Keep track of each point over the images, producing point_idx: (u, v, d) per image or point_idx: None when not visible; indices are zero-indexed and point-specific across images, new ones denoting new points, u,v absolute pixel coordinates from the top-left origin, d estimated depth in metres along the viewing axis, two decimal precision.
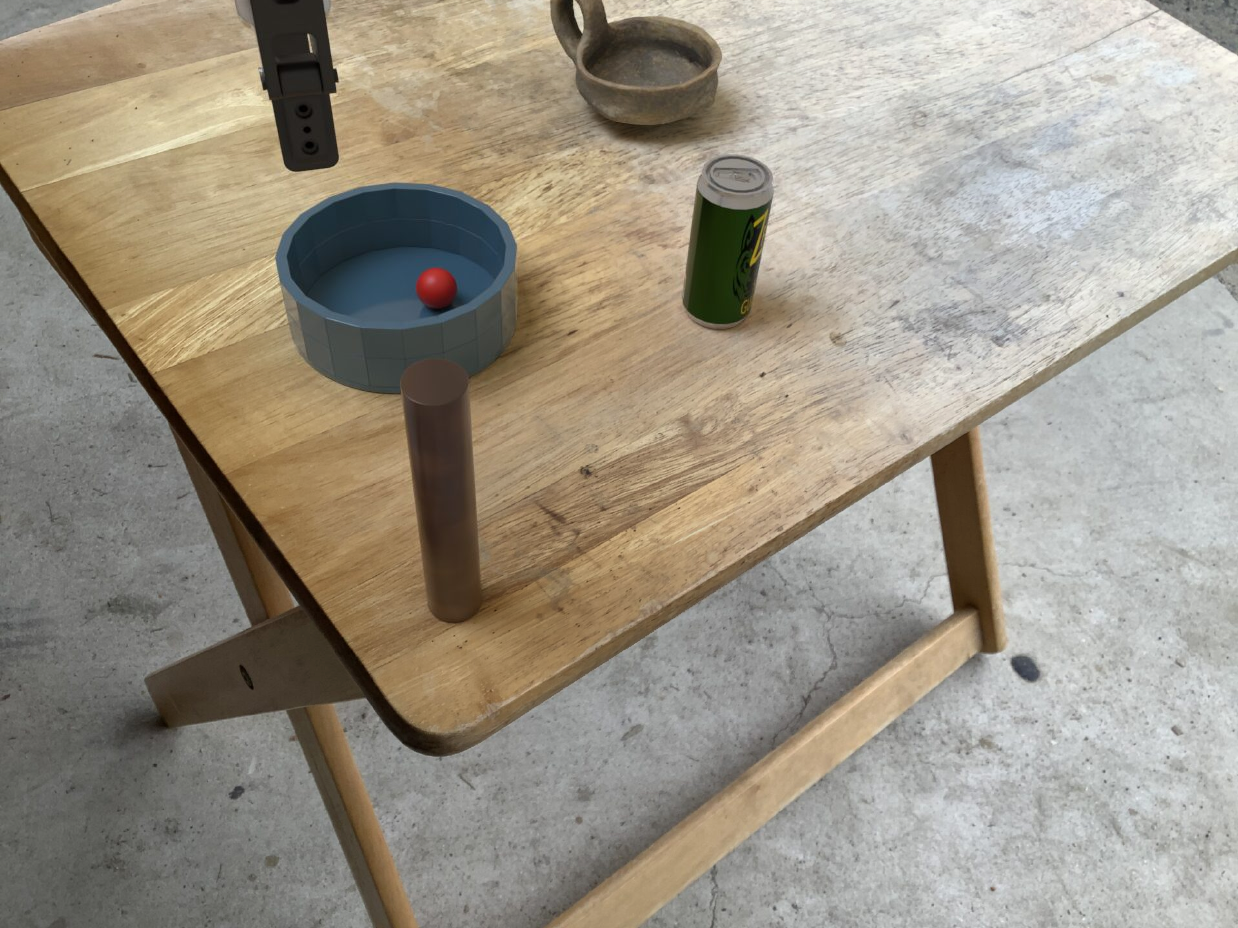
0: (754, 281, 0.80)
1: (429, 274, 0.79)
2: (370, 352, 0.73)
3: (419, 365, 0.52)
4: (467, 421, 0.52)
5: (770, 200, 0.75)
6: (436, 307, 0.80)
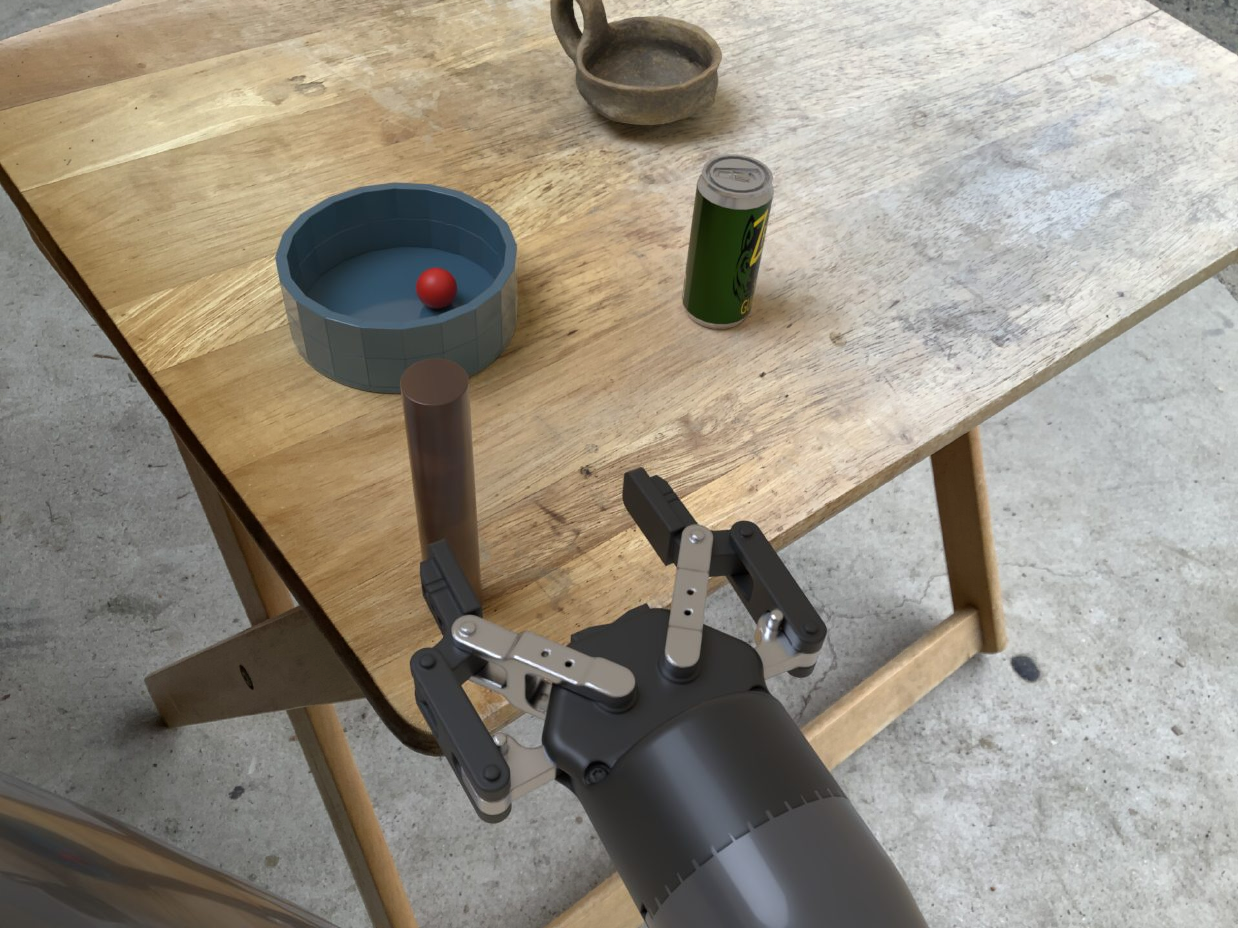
0: (754, 281, 0.80)
1: (429, 274, 0.79)
2: (370, 352, 0.73)
3: (419, 365, 0.52)
4: (467, 421, 0.52)
5: (770, 200, 0.75)
6: (436, 307, 0.80)
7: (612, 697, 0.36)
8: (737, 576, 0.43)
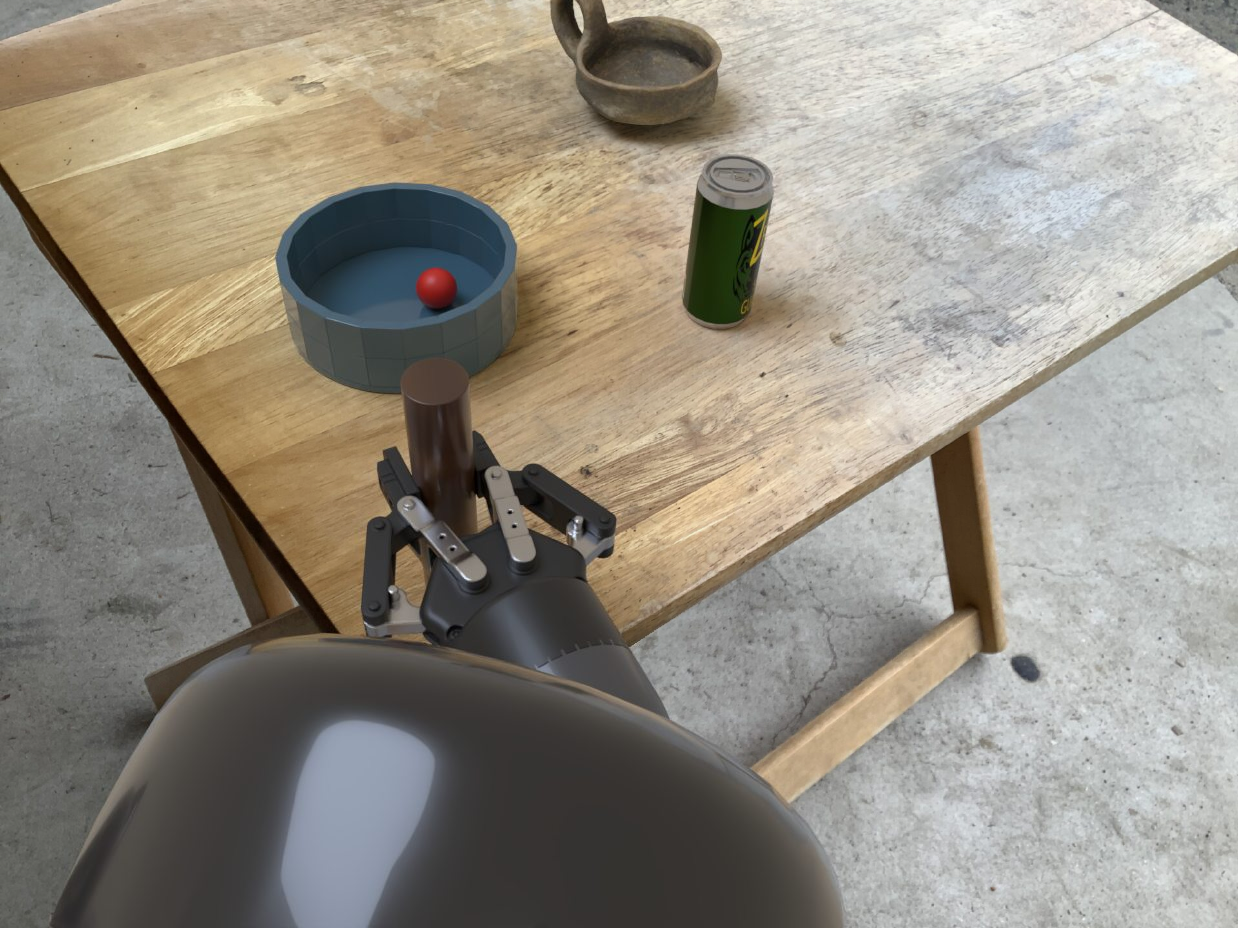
0: (754, 281, 0.80)
1: (429, 274, 0.79)
2: (370, 352, 0.73)
3: (420, 365, 0.52)
4: (467, 421, 0.53)
5: (770, 200, 0.75)
6: (436, 307, 0.80)
7: (464, 580, 0.51)
8: (536, 505, 0.57)
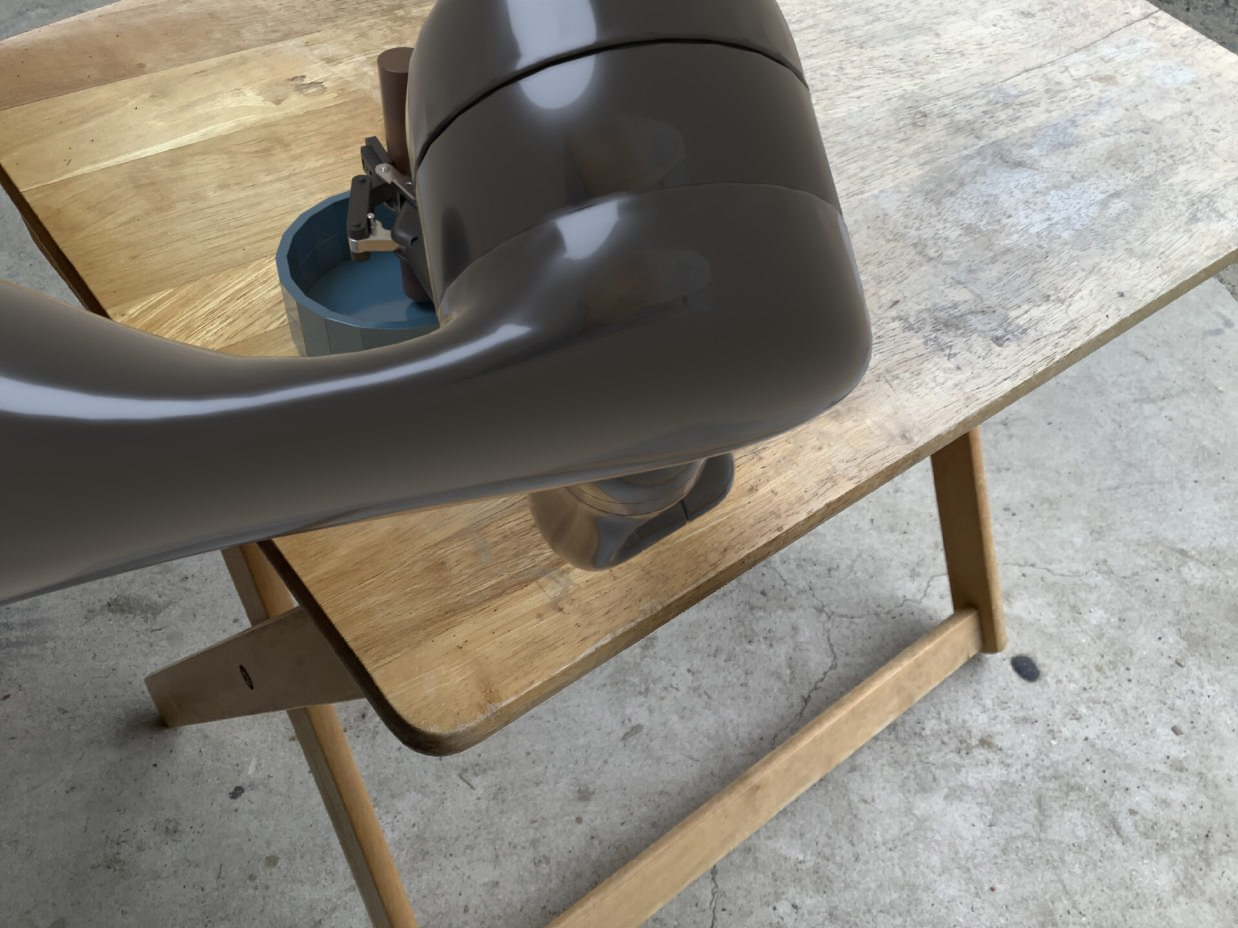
0: None
1: None
2: None
3: (392, 50, 0.68)
4: None
5: None
6: None
7: None
8: None
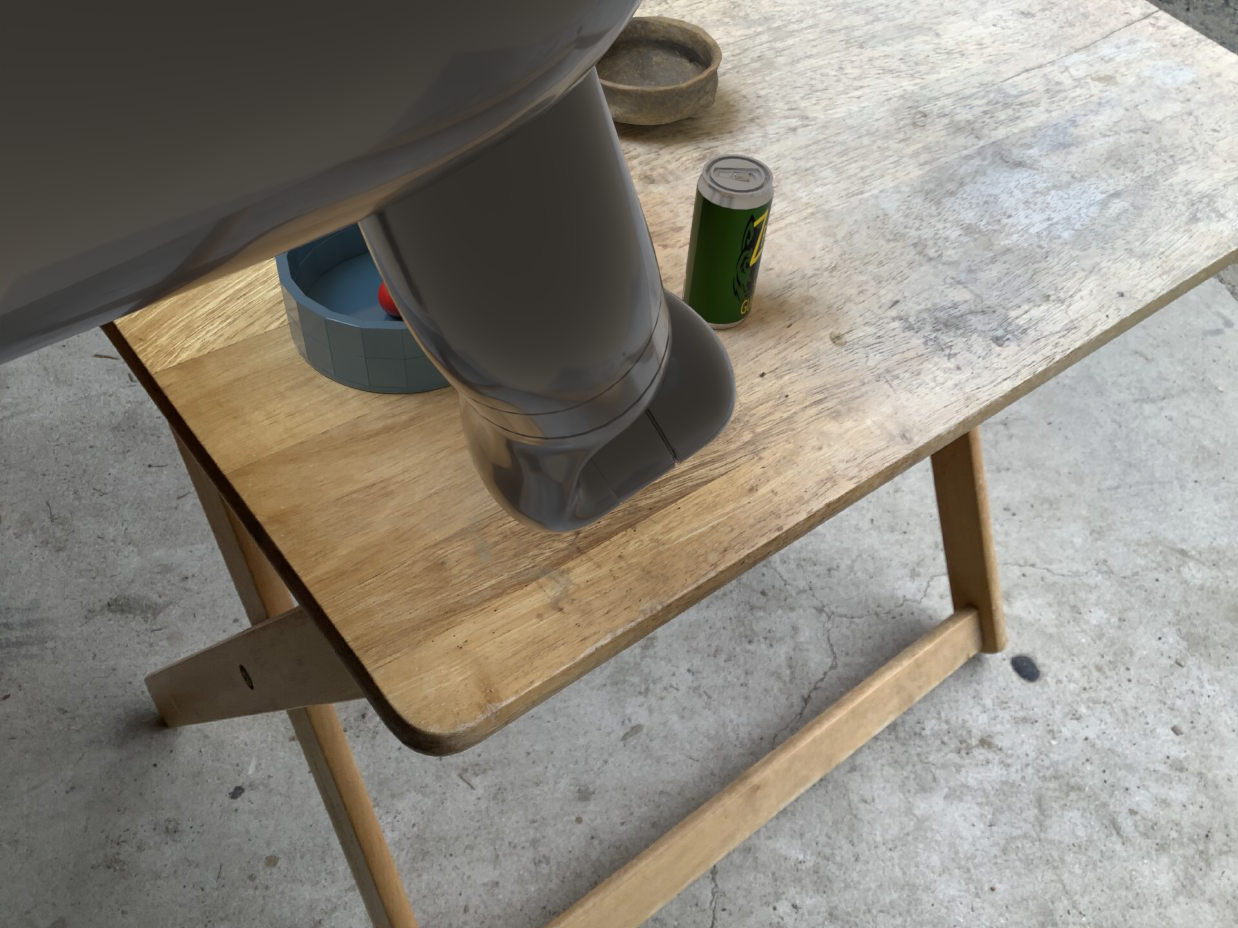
0: (754, 281, 0.80)
1: None
2: (370, 352, 0.73)
3: None
4: None
5: (770, 200, 0.75)
6: None
7: None
8: None
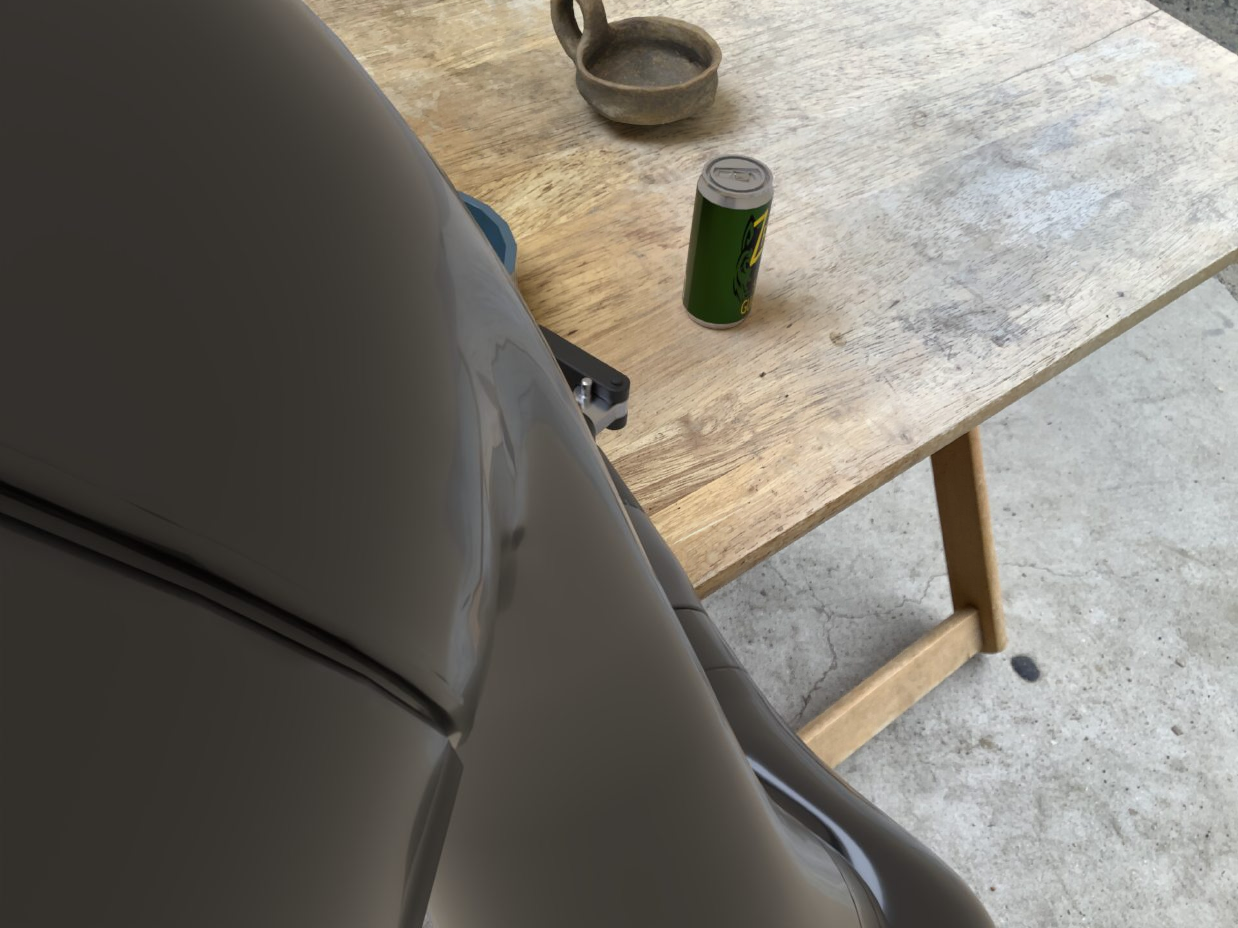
0: (754, 281, 0.80)
1: None
2: None
3: None
4: None
5: (770, 200, 0.75)
6: None
7: None
8: None
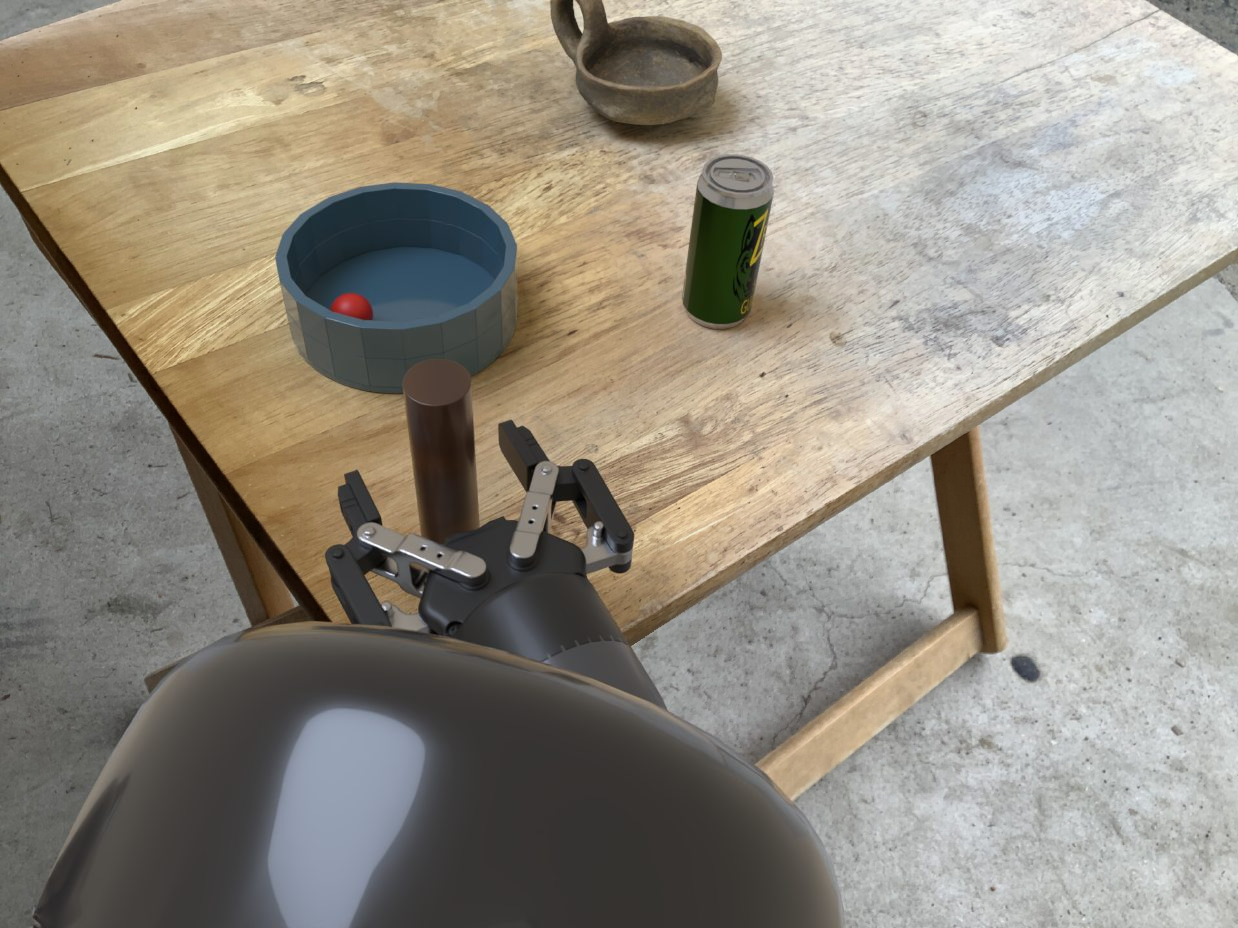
0: (754, 281, 0.80)
1: None
2: (370, 352, 0.73)
3: (422, 365, 0.52)
4: (469, 421, 0.52)
5: (770, 200, 0.75)
6: (352, 309, 0.76)
7: (469, 578, 0.50)
8: (579, 501, 0.57)
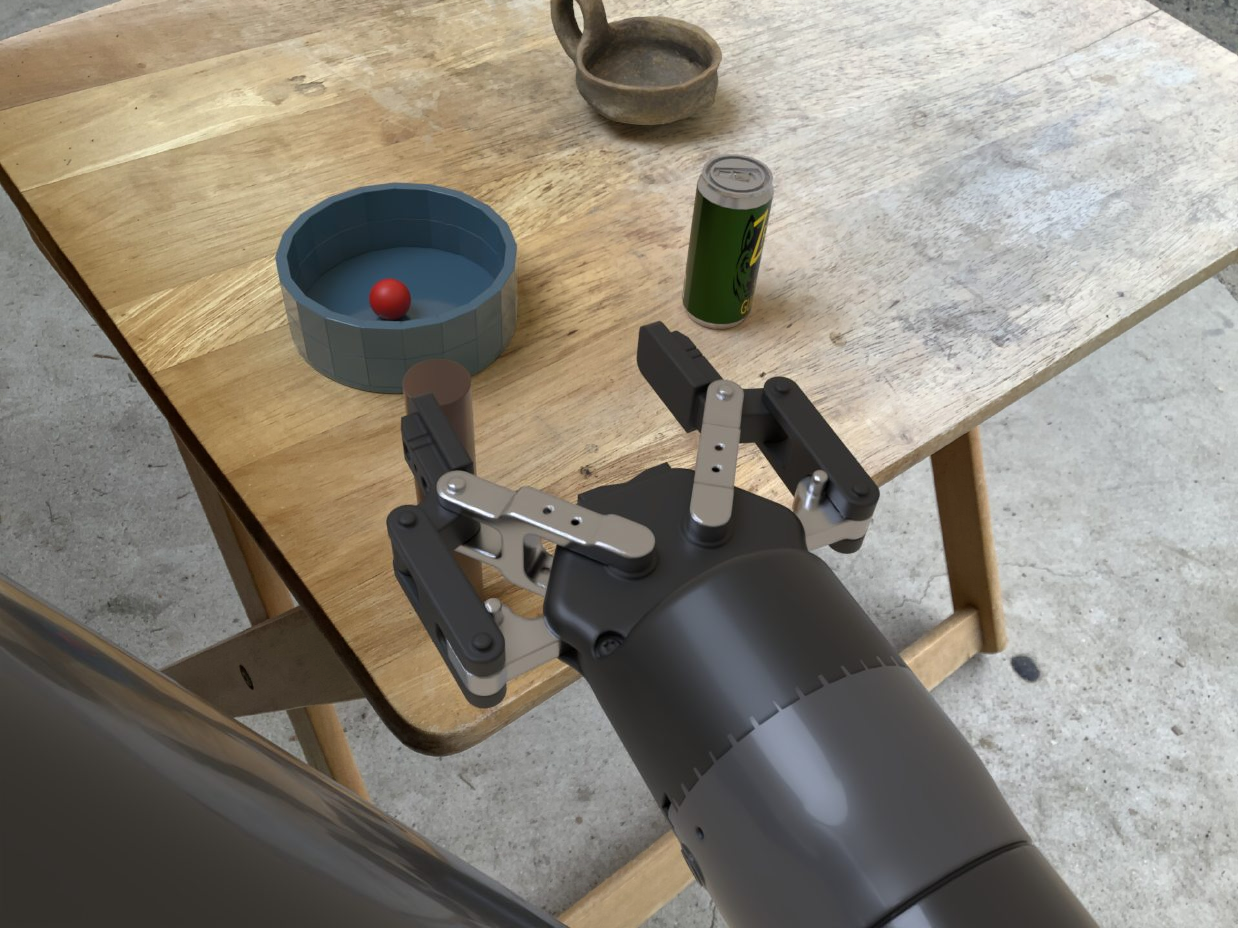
0: (754, 281, 0.80)
1: None
2: (370, 352, 0.73)
3: (422, 365, 0.52)
4: (469, 421, 0.52)
5: (770, 200, 0.75)
6: (410, 304, 0.79)
7: (628, 558, 0.30)
8: (770, 443, 0.37)
